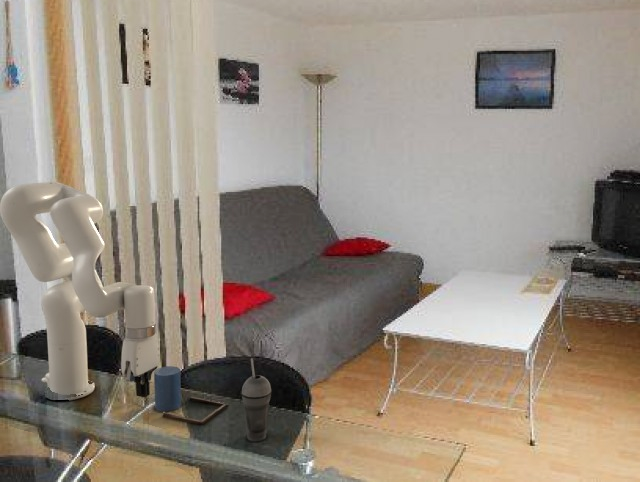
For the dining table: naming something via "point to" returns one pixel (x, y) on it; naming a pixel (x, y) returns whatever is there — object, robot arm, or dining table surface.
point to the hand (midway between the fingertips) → (143, 395)
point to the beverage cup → (256, 405)
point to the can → (167, 388)
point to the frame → (194, 421)
